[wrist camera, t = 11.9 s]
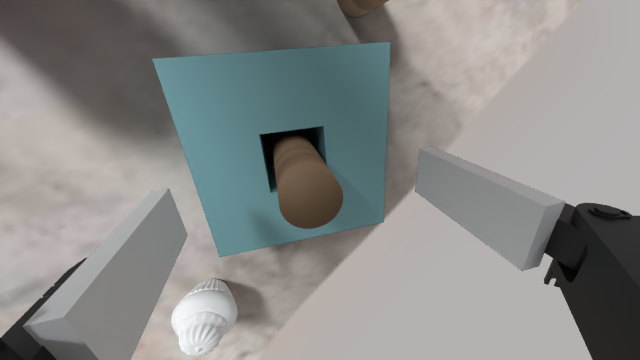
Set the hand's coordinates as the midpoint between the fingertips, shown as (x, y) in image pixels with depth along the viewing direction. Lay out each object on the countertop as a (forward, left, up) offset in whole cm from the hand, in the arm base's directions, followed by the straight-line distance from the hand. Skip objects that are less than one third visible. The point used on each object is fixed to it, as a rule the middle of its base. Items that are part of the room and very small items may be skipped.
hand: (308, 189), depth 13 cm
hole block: (0, 0, -11) cm, 11 cm away
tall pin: (0, 0, -11) cm, 11 cm away
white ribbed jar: (+16, -11, -11) cm, 22 cm away
